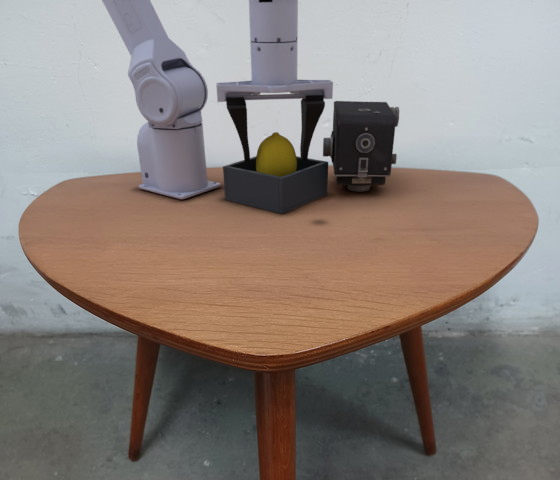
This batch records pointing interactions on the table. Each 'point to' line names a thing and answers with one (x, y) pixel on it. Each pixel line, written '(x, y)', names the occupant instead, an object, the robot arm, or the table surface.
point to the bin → (275, 185)
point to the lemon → (276, 156)
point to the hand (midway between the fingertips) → (275, 159)
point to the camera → (362, 143)
